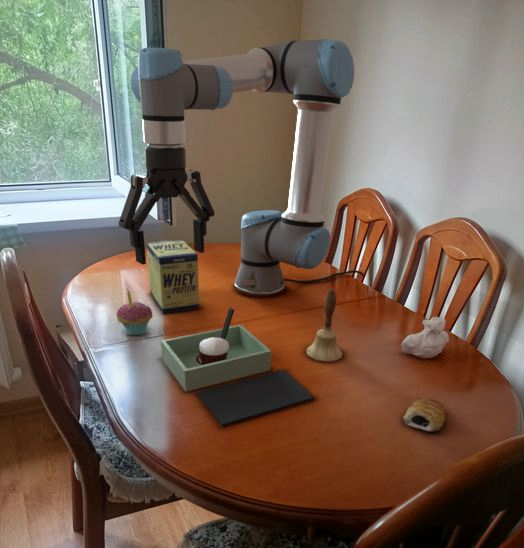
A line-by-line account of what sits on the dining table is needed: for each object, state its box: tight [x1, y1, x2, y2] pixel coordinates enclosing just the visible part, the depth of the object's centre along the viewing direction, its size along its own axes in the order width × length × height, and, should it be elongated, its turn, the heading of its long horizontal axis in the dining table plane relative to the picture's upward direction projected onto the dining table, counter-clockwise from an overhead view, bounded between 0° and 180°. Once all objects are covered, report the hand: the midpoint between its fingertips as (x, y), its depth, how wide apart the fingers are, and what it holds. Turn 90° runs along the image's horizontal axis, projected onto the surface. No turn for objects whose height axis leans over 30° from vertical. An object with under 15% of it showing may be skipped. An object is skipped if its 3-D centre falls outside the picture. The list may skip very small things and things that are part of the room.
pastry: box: [403, 397, 447, 433], centre depth 93 cm, size 9×7×4 cm
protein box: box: [145, 239, 200, 315], centre depth 136 cm, size 10×16×16 cm
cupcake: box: [116, 288, 153, 336], centre depth 120 cm, size 9×8×12 cm
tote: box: [160, 324, 272, 393], centre depth 108 cm, size 20×15×5 cm
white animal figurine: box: [400, 316, 450, 359], centre depth 113 cm, size 12×8×11 cm
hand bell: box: [306, 288, 343, 363], centre depth 111 cm, size 8×8×16 cm
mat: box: [196, 369, 315, 427], centre depth 98 cm, size 20×12×1 cm, turn 119°
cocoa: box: [196, 306, 235, 365], centre depth 106 cm, size 10×6×12 cm, turn 111°
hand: (171, 256), depth 101 cm, fingers open, 13 cm apart
